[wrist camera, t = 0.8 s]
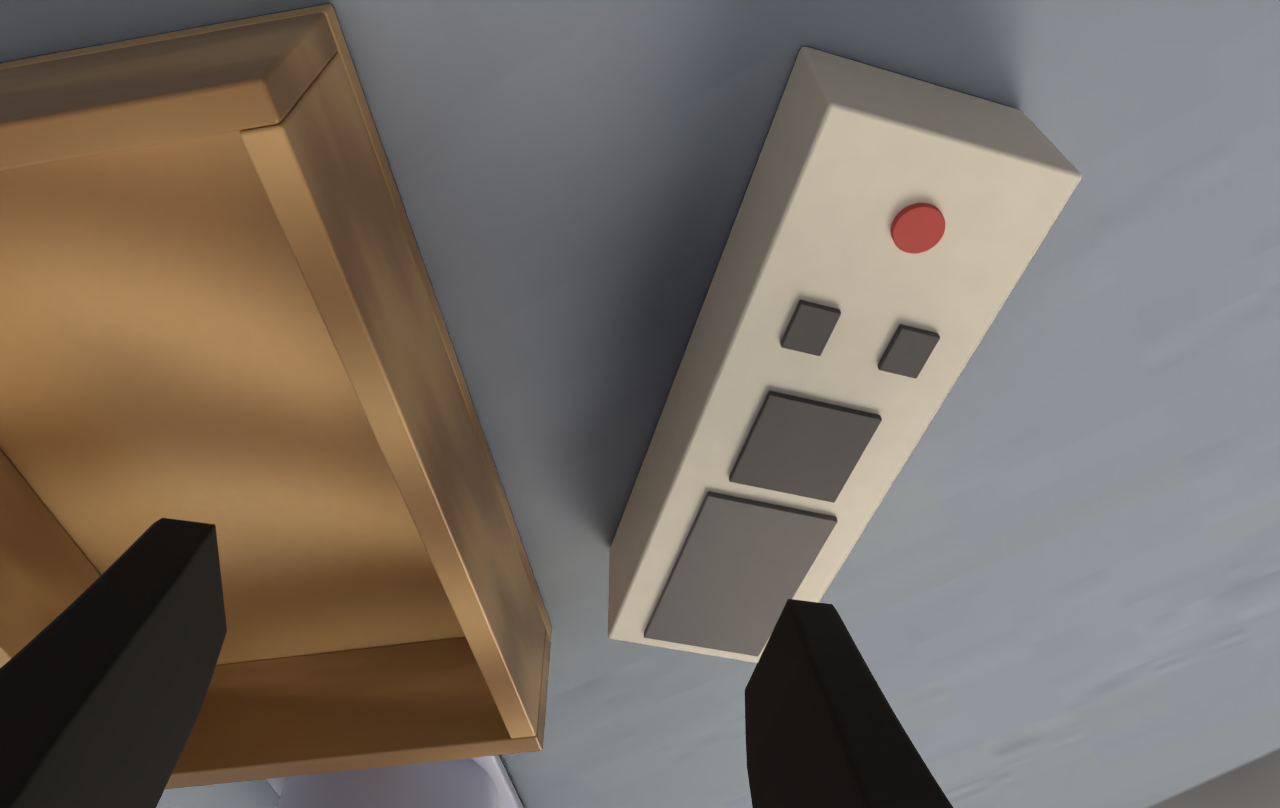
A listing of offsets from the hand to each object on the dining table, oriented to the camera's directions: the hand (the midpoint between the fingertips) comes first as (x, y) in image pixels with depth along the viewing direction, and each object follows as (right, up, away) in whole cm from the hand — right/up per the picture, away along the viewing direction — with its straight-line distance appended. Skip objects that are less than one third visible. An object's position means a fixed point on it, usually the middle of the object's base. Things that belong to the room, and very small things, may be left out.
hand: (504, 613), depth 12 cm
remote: (+5, +4, +10) cm, 11 cm away
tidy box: (-8, +2, +10) cm, 13 cm away
